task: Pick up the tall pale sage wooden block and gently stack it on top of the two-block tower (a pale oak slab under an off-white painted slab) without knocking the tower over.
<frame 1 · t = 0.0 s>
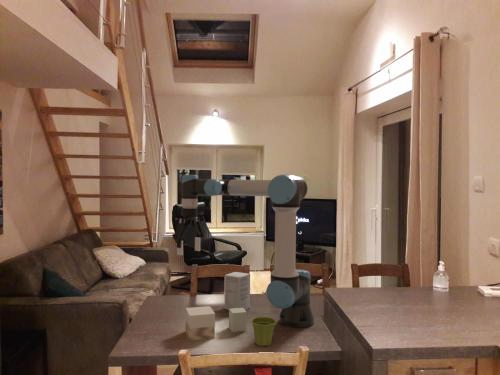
hand: (189, 252, 190), 28 cm above the table, fingers open, 13 cm apart
plant pot: (263, 343, 154), on the table
supplement box: (237, 309, 196), on the table
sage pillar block: (237, 329, 169), on the table
tower bottom block: (199, 335, 162), on the table, touching tower top block
tower top block: (200, 323, 162), point 5 cm above the table, touching tower bottom block
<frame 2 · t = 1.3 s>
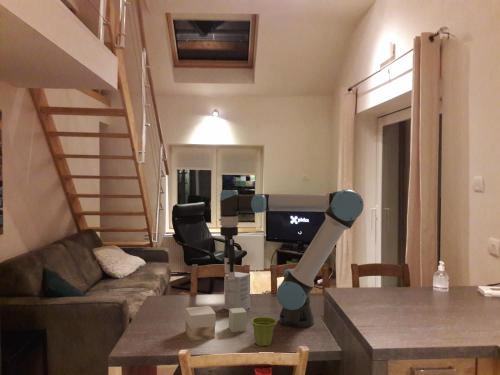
hand: (229, 276, 172), 21 cm above the table, fingers open, 13 cm apart
nothing on the table moved.
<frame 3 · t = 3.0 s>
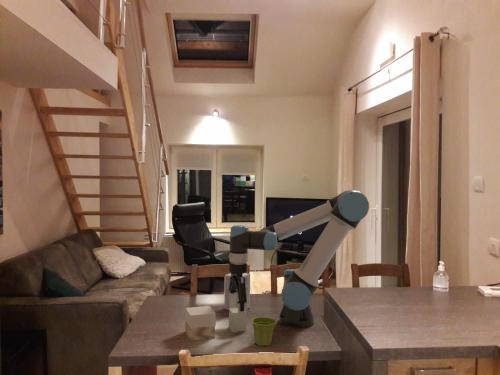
hand: (236, 313, 169), 7 cm above the table, fingers open, 13 cm apart
nothing on the table moved.
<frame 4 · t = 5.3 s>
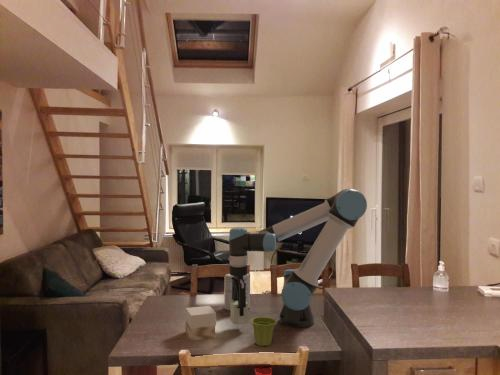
hand: (238, 320, 168), 4 cm above the table, fingers closed on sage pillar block, 6 cm apart
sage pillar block: (239, 321, 169), point 3 cm above the table, touching gripper
everything else where it was.
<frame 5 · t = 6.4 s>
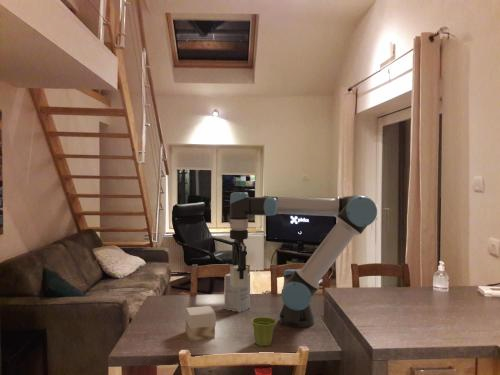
hand: (238, 284, 168), 19 cm above the table, fingers closed on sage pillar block, 6 cm apart
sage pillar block: (239, 285, 168), point 18 cm above the table, touching gripper
everything else where it was.
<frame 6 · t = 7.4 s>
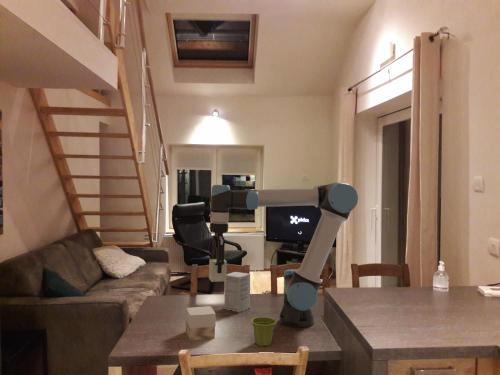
hand: (216, 278, 165), 22 cm above the table, fingers closed on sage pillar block, 6 cm apart
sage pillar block: (217, 279, 165), point 21 cm above the table, touching gripper
everything else where it was.
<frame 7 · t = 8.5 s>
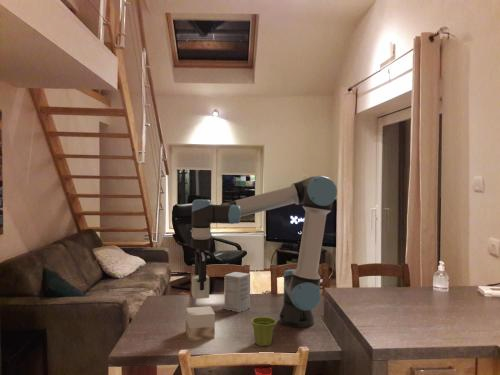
hand: (199, 295, 162), 16 cm above the table, fingers closed on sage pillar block, 6 cm apart
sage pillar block: (200, 296, 162), point 15 cm above the table, touching gripper
everything else where it was.
when the fingers open (11 cm above the table, at t = 10.2 s): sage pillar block stays where it is, resting on tower top block.
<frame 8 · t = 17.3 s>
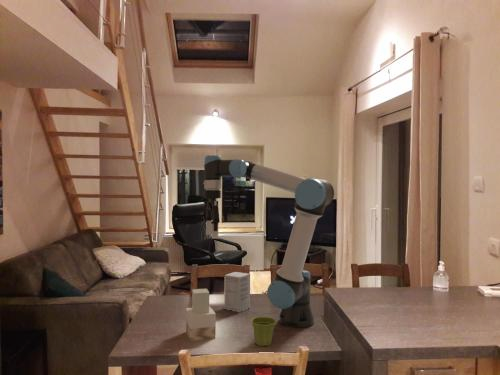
hand: (211, 236, 183), 37 cm above the table, fingers open, 13 cm apart
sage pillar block: (200, 310, 161), point 10 cm above the table, touching tower top block
tower top block: (200, 323, 161), point 5 cm above the table, touching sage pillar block, tower bottom block
everything else where it was.
at the end: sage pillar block 0.2 cm off-centre on the tower bottom block, point 10.0 cm above the tower bottom block's base; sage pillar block tilted 0°; tower top block 0.1 cm from the tower bottom block (horizontally) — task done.
